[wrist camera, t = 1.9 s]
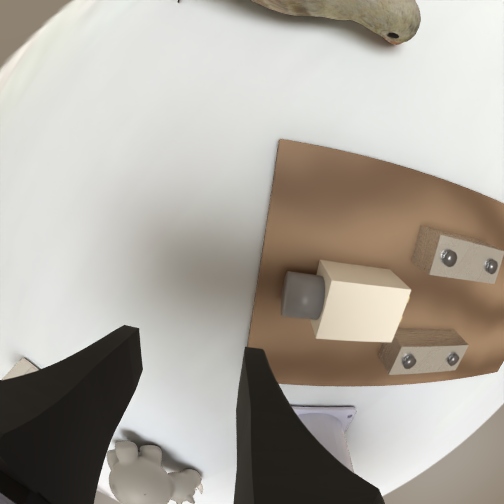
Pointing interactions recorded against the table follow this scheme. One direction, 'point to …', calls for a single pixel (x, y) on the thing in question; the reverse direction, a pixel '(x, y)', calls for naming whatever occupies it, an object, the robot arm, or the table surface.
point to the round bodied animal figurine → (148, 476)
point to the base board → (371, 263)
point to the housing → (445, 265)
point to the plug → (347, 301)
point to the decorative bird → (359, 14)
